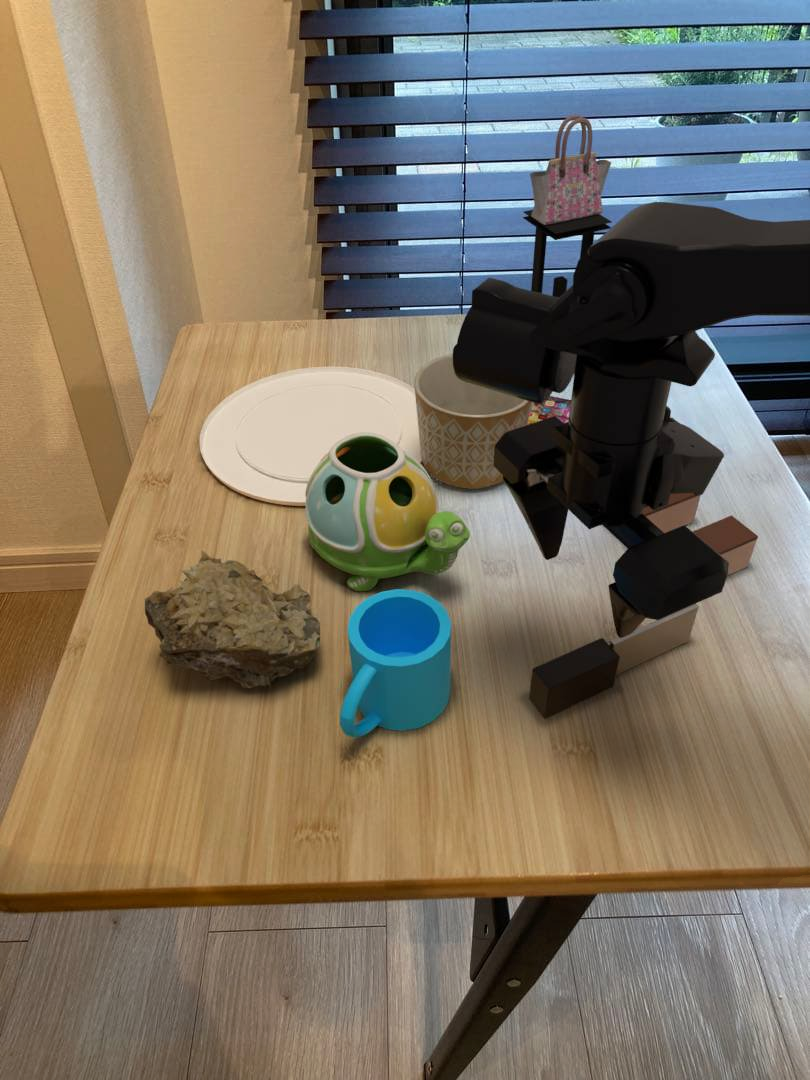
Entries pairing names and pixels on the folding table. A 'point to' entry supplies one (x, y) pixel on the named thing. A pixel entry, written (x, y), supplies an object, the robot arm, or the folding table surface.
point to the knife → (604, 662)
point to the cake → (674, 512)
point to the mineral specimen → (233, 624)
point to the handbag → (567, 201)
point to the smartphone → (550, 410)
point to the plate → (302, 427)
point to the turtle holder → (378, 513)
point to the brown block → (730, 541)
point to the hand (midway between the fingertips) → (585, 594)
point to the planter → (462, 425)
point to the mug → (397, 662)
